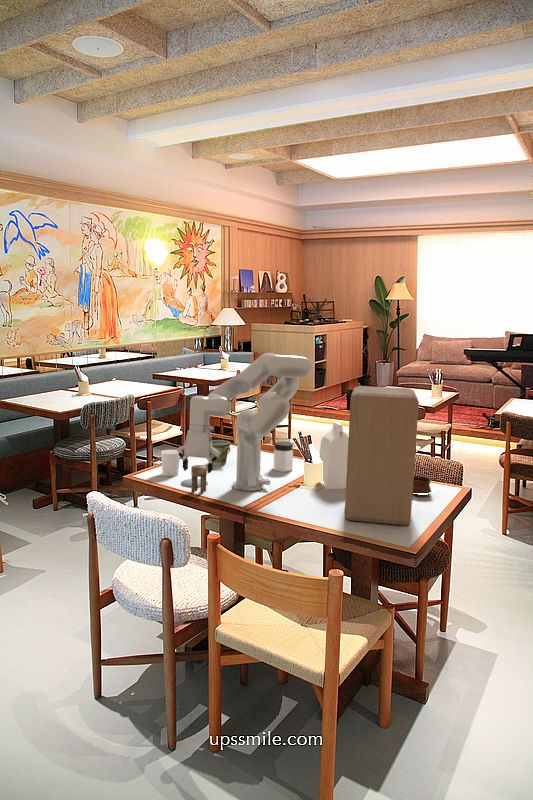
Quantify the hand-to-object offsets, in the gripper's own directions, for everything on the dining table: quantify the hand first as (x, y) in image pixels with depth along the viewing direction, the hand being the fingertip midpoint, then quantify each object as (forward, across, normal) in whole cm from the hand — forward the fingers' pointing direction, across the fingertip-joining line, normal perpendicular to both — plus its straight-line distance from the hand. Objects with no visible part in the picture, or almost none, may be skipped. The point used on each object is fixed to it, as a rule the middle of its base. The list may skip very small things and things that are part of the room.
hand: (197, 471), depth 240 cm
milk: (+7, -52, -26) cm, 59 cm away
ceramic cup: (+8, +2, -44) cm, 44 cm away
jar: (+7, -27, -44) cm, 52 cm away
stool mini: (+8, -1, 0) cm, 8 cm away
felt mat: (+8, +4, -10) cm, 14 cm away
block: (+7, -70, +6) cm, 70 cm away
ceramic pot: (+7, -86, -23) cm, 89 cm away
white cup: (+9, +18, -20) cm, 29 cm away
